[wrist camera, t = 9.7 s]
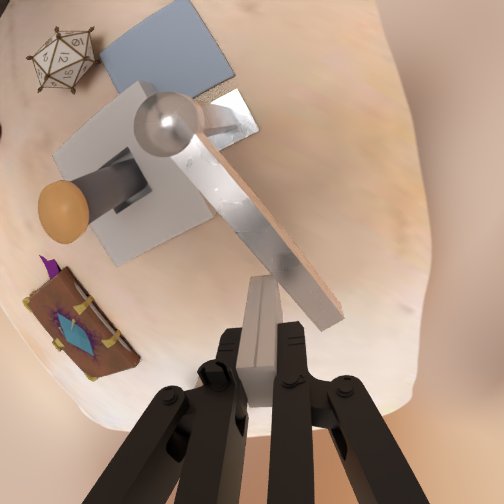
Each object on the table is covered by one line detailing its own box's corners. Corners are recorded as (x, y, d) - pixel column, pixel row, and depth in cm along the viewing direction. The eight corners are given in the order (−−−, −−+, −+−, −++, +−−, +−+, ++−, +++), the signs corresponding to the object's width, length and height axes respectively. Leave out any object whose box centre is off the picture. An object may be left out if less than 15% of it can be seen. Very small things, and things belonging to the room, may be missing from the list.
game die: (87, 69, 28) (22, 66, 21) (113, 19, 23) (40, 10, 15) (91, 110, 27) (14, 110, 19) (120, 53, 21) (30, 45, 14)
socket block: (71, 150, 30) (52, 155, 26) (154, 83, 26) (138, 80, 23) (130, 252, 36) (116, 267, 32) (221, 205, 32) (213, 217, 28)
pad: (101, 54, 24) (98, 54, 24) (186, -4, 21) (185, -5, 21) (141, 131, 29) (138, 131, 28) (235, 75, 25) (234, 74, 25)
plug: (109, 168, 30) (30, 203, 18) (140, 146, 28) (61, 171, 16) (128, 202, 31) (58, 252, 19) (160, 183, 30) (92, 228, 18)
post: (195, 112, 27) (120, 111, 13) (237, 89, 26) (195, 60, 12) (217, 151, 29) (160, 185, 15) (259, 130, 28) (240, 141, 14)
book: (57, 237, 37) (39, 250, 33) (146, 353, 46) (137, 373, 41) (18, 276, 41) (3, 289, 37) (94, 370, 50) (85, 387, 45)
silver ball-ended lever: (308, 321, 18) (309, 337, 17) (135, 123, 13) (122, 125, 12) (351, 297, 17) (356, 311, 16) (178, 81, 12) (167, 78, 11)
